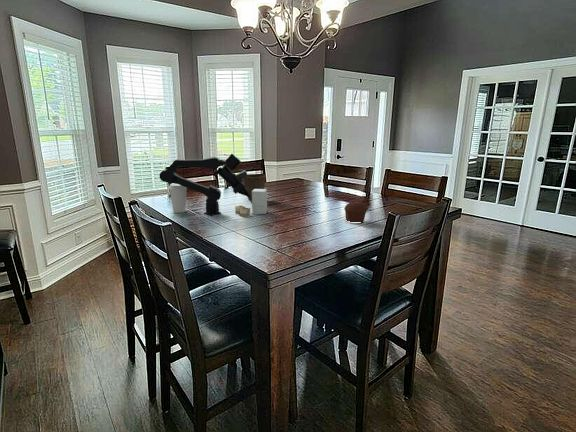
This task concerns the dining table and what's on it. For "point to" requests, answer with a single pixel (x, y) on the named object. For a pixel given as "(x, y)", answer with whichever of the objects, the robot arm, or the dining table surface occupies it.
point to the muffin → (355, 211)
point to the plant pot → (254, 183)
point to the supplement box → (259, 201)
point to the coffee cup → (178, 197)
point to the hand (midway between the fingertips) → (249, 196)
